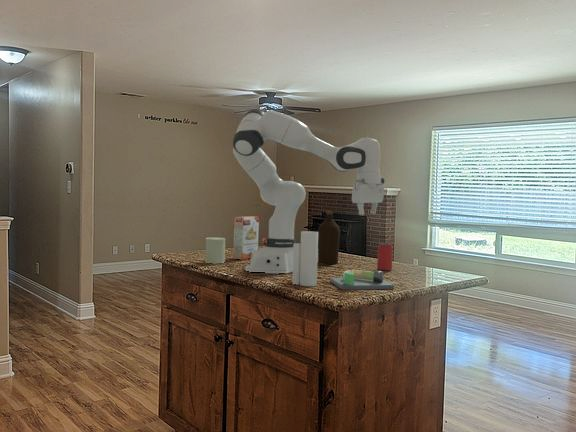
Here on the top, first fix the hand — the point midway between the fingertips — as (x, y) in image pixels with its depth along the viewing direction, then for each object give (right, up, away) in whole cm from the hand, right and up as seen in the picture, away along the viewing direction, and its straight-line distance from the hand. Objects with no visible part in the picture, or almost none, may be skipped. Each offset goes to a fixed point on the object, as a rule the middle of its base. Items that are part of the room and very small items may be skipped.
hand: (367, 214), depth 214 cm
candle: (-26, -27, -8) cm, 38 cm away
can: (-65, -23, +38) cm, 79 cm away
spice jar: (-1, -25, -6) cm, 26 cm away
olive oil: (-12, -24, +47) cm, 54 cm away
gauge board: (-3, -27, -8) cm, 28 cm away
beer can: (+12, -25, +31) cm, 42 cm away
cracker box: (-52, -22, +55) cm, 79 cm away
